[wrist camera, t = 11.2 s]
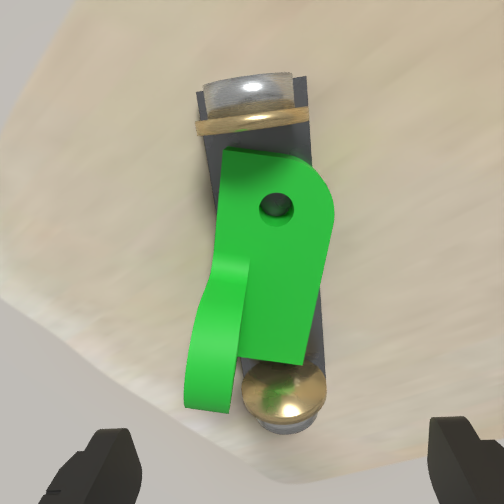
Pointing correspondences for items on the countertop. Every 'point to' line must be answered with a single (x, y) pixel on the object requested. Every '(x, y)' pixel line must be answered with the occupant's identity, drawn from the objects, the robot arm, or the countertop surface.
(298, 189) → the mechanical part
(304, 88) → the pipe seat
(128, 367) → the countertop surface
